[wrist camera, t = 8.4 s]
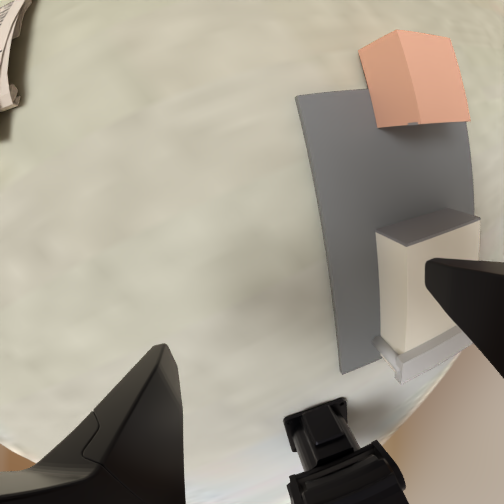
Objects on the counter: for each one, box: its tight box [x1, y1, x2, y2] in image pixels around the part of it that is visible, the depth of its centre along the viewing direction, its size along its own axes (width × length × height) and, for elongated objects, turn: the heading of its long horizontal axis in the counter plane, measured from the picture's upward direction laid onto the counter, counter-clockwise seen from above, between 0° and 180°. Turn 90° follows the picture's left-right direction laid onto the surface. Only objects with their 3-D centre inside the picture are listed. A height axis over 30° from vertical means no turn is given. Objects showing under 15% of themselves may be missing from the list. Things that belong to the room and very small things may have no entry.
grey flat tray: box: [295, 89, 480, 384], centre depth 20 cm, size 23×16×6 cm
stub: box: [358, 30, 471, 128], centre depth 16 cm, size 6×5×5 cm
